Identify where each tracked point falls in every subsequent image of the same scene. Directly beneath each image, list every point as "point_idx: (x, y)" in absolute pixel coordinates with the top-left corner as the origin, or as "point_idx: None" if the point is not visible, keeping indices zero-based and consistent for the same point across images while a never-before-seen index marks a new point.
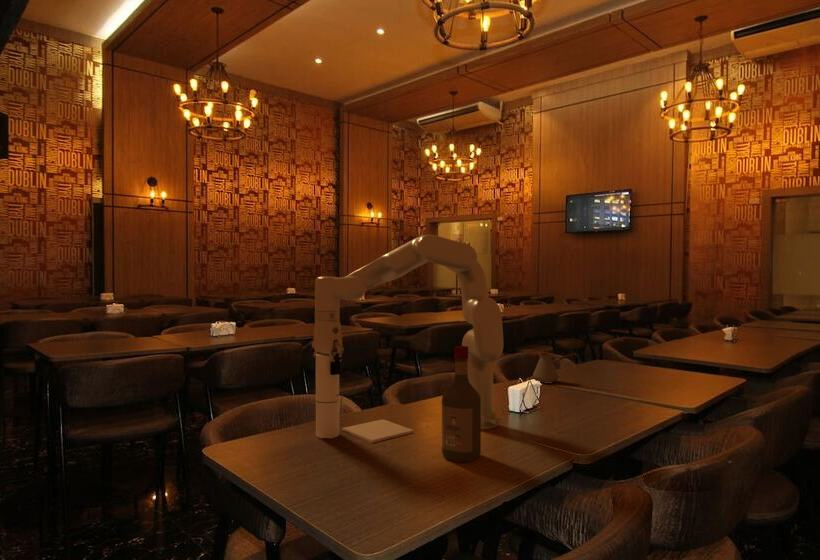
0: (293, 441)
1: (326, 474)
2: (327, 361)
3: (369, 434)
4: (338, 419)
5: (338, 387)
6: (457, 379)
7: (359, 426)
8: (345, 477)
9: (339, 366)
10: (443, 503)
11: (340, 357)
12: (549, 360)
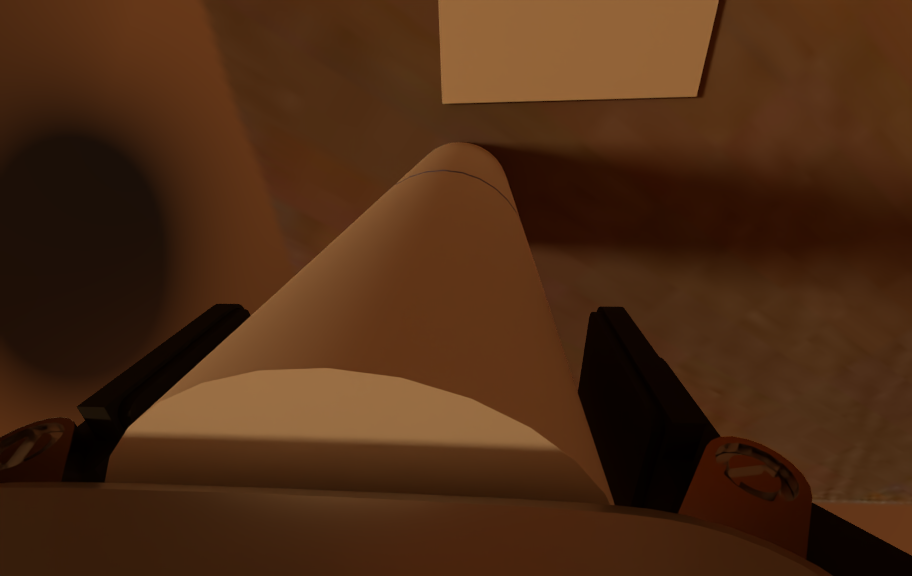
0: None
1: (772, 380)
2: None
3: (621, 48)
4: (503, 175)
5: (516, 221)
6: None
7: (472, 5)
8: (840, 358)
9: (653, 367)
10: None
11: (886, 569)
12: None
